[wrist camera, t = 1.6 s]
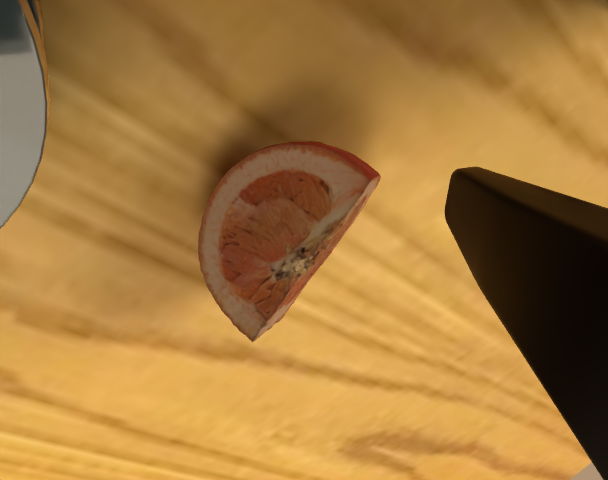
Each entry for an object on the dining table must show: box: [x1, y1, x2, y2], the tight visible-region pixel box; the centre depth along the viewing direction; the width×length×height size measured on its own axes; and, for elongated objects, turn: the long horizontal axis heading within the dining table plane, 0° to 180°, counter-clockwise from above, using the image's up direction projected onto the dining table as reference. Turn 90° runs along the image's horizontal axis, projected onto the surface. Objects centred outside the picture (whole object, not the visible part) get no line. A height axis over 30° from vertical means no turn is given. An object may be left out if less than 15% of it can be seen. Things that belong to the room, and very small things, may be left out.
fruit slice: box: [198, 141, 381, 342], centre depth 23 cm, size 8×7×5 cm
